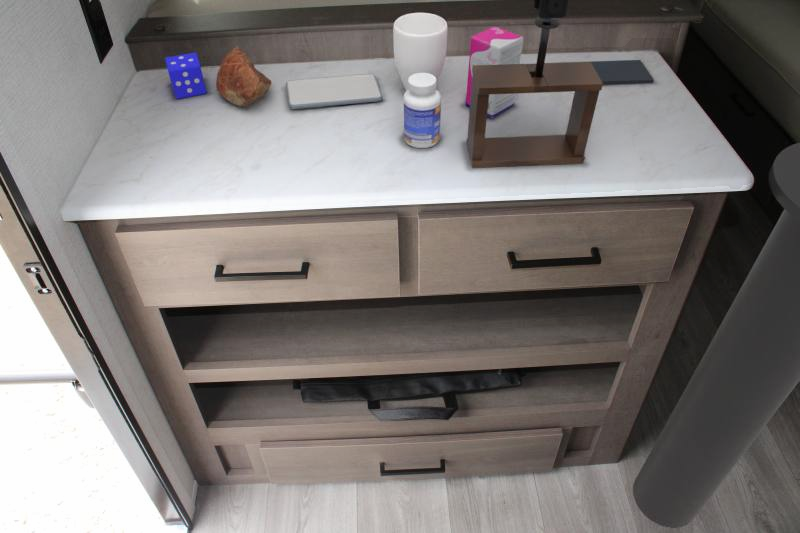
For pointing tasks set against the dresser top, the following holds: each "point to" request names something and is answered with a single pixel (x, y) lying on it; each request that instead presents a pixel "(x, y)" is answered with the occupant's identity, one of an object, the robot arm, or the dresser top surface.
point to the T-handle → (543, 41)
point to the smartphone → (333, 91)
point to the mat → (622, 72)
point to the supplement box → (494, 62)
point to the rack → (522, 81)
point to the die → (186, 75)
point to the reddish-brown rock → (240, 79)
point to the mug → (419, 45)
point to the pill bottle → (422, 111)
